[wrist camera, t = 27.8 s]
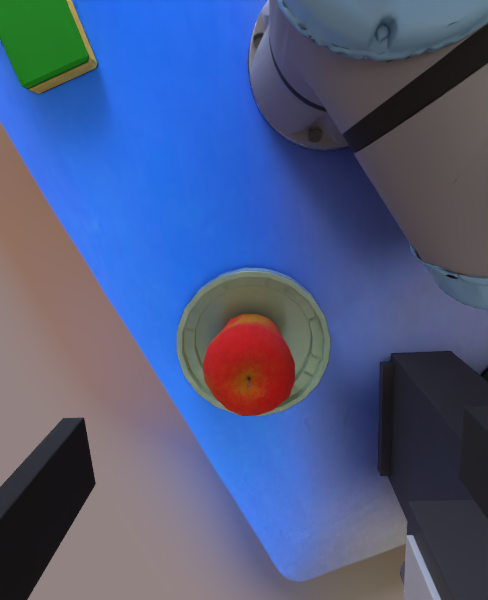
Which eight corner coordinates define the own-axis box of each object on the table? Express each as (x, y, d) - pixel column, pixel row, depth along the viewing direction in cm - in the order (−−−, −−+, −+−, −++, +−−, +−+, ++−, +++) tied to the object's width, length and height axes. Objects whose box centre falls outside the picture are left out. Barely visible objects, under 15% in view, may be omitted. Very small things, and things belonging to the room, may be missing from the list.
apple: (201, 320, 45) (179, 363, 33) (271, 290, 43) (273, 324, 32) (234, 386, 46) (223, 448, 35) (302, 359, 45) (314, 414, 34)
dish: (154, 316, 46) (146, 324, 43) (275, 237, 43) (276, 240, 40) (233, 425, 48) (231, 440, 45) (352, 358, 46) (358, 369, 43)
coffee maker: (338, 480, 50) (449, 908, 20) (337, 355, 46) (475, 654, 16) (442, 478, 49) (721, 920, 19) (450, 350, 45) (822, 657, 15)
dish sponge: (36, 95, 40) (22, 89, 38) (-32, -57, 37) (-52, -74, 35) (99, 67, 39) (89, 59, 37) (34, -92, 36) (18, -112, 34)
